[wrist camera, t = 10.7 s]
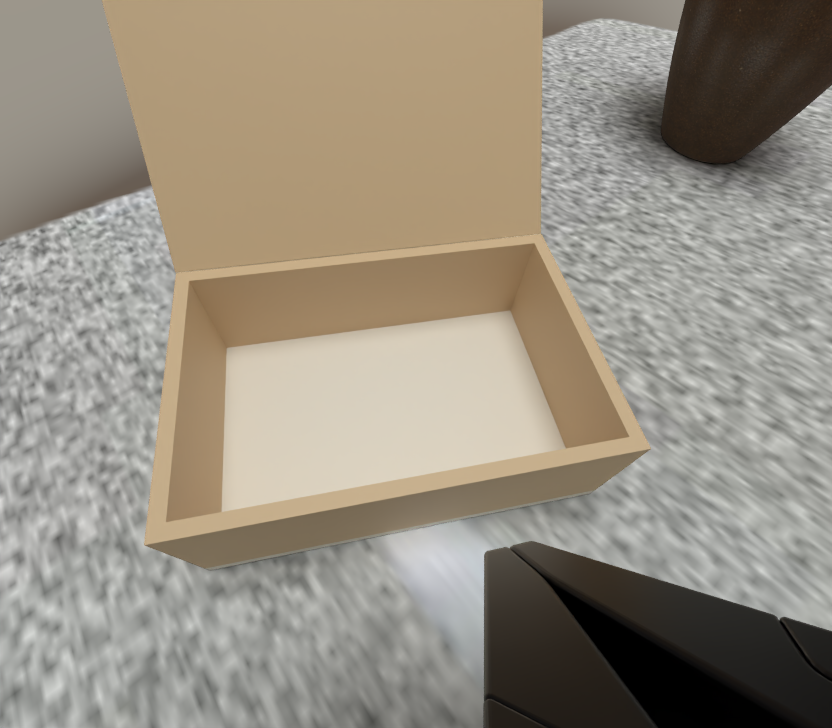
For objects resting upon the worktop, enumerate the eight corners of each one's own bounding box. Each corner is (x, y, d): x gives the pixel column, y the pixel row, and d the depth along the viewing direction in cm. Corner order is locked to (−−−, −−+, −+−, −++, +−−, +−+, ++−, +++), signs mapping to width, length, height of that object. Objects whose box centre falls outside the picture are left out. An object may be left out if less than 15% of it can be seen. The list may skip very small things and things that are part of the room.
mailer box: (590, 493, 22) (651, 448, 17) (209, 570, 19) (143, 545, 14) (514, 307, 28) (541, 234, 23) (219, 346, 25) (176, 273, 20)
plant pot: (612, 168, 36) (741, -108, 23) (620, 85, 44) (720, -158, 31) (801, 209, 35) (1061, -64, 21) (774, 115, 43) (952, -129, 29)
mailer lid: (543, -57, 19) (535, -48, 19) (87, -56, 16) (96, -45, 17) (540, 233, 23) (534, 233, 23) (175, 272, 20) (180, 270, 21)
